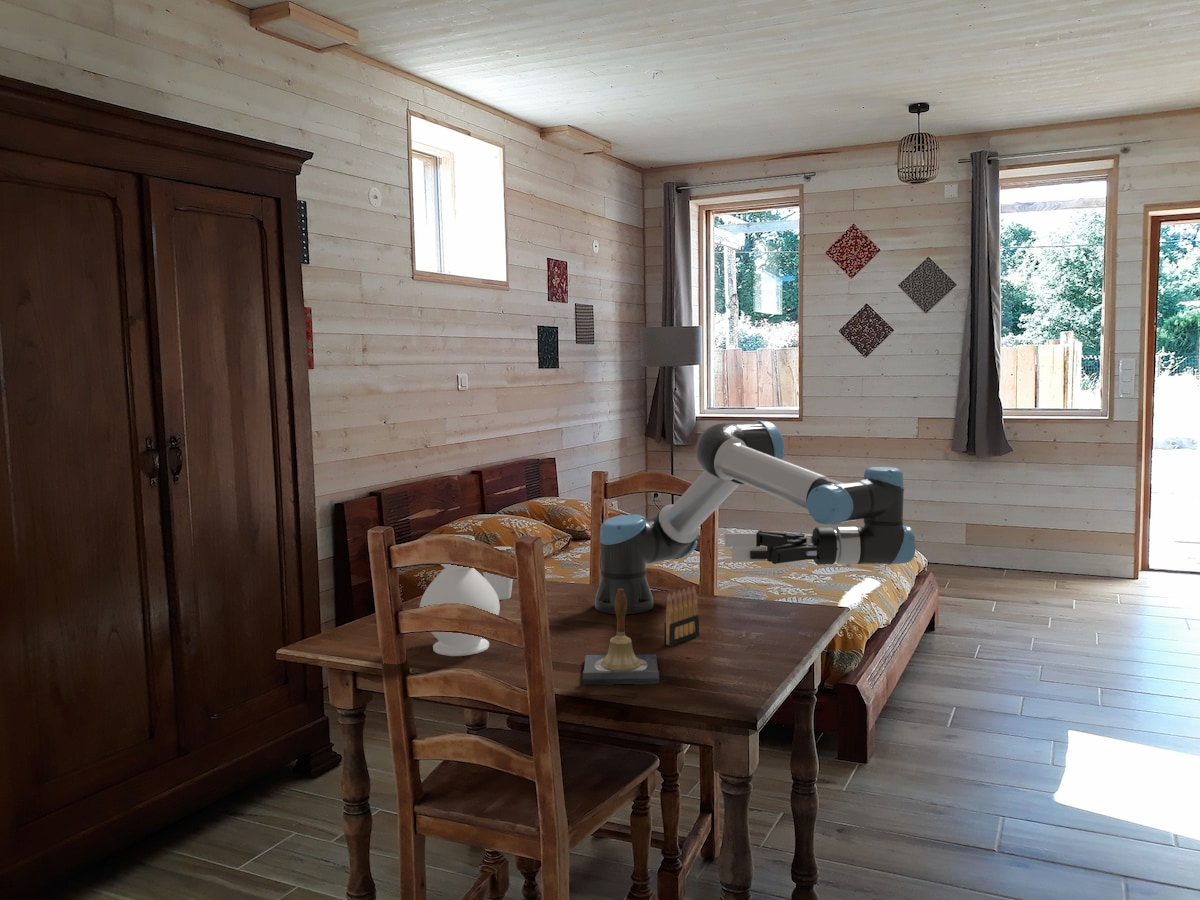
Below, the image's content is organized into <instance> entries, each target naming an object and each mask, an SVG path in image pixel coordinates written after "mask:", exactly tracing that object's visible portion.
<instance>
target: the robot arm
mask: <svg viewBox="0 0 1200 900" xmlns="http://www.w3.org/2000/svg"><path fill="white" fill-rule="evenodd" d="M695 452H696V453H695V454H696V458H697V462H698V463H699V464H700V466H701V468H702V469H703V471H702V473H701V474H700V475H699V476H698V477H696V480H695V481H693V482H692V483H691V485H690V486H689V487H688V488H687V489H686V491H684V493H683V494H682V495H681V496H680V497H679V498H678V500H676V501H675V502H674V503H673V504H672V503H671V504H667V505H664V506H663V507H661V509H660V511H659V512H658V513H657V514H655V516H653V517H650V518H649V517H647V518H646V517H644V516H643V515H641V514H634V513H633V514H630V513H629V514H621V515H616V516H613V517H609V518H607V519H605V520H604V521H603V522H602V523H601V525H600V531H599V532H600V534H599V542H600V580H599V585H598V588H597V591H596V594H595V597H594V598H595V599H594V608H595V610H597V611H598V612H602V613H604V614H613V615H616V613H615V607H614V601H615V597H616V594H617V590H618V589H619V588H622V589H624V593H625V596H626V599H627V611H626V615H635V613H636V614H641V613H645V612H648V611H650V610H652V609H653V608H654V597H653V594H652V591H651V588H650V585H649V582H648V579H647V564H652V563H658V562H663V561H669V560H678V559H682V558H684V557H687V556H689V555H691V554H692V553H693V552H694V551H695V550H696V548H697V546H698V543H699V541H697V539H699V532H700V531H699V527H700V526H701V525H703V523H704V522H705V521H706V520H707V519H708V518H709V517H710V516H711V515H712V514H713V513H714V512H715V510H716V509H718V508H719V506H720V505H722V504H723V502H724V501H725V500H726V499H728V497H729V496H730V495H731V494H732V493H733V492H734V491H736V489H738V487H739V486H744V485H746V486H747V485H748V486H749V487H753V488H754V489H757V490H759V491H761V492H764V493H766V494H769V495H772V496H774V497H776V498H778V499H780V500H783V501H786V502H788V503H791V504H793V505H795V506H798V507H799V508H802V509H805V510H806V511H808V513H809V515H810V516H811V517H812V518H813V520H814V521H815V522H817V523H818V524H822V525H830V524H831V525H839V524H841V523H845V522H846V523H847V522H850V521H851V522H852V521H857V520H863V526H835V528H834V527H831V526H824V527H823V526H819V527H818V526H817V527H815V528H813V531H812V532H811V533H812V536H811V537H809V536H807V537H805V533H802V532H800V533H799V532H798V533H793V532H780V531H779V532H778V531H769V530H767V531H766V530H758V531H757V532H748V533H747V532H732V533H731V532H729V533H727V532H724V547H725V548H726V547H727V548H729V547H731V561H732V562H768V563H771V564H774V565H777V564H783V563H791V562H797V561H798V562H800V561H806V560H807V561H808V560H813V561H814V564H816V565H817V566H818V565H819V566H821V565H824V566H825V565H829V566H830V565H831V566H832V565H834V564H835V563H836V564H837V565H845V566H846V567H847V568H850V567H851V565H888V566H889V565H890V566H891V565H896V564H908V563H911V561H913V559H914V556H915V554H916V549H917V548H916V546H917V545H916V540H915V539H916V537H915V533H914V530H913V529H912V528H911V527H910V526H906V525H904V521H903V520H904V491H905V487H904V473H903V471H902V470H901V469H900V468H897V467H894V466H893V467H892V466H891V467H890V466H871V467H868V468H866V469H865V470H864V472H863V474H864V475H863V478H862V479H858V480H854V481H853V480H851V481H839V480H836V479H834V478H831V477H828V476H826V475H824V474H821V473H818V472H816V471H812V470H811V469H808V468H804V467H801V466H799V465H796V464H794V463H791V462H789V461H786V460H784V456H785V442H784V439H783V436H782V433H781V431H780V429H779V428H778V427H777V426H776V425H775V424H774V423H772V422H770V421H767V420H758V419H755V420H752V421H751V420H750V421H740V422H739V421H738V422H725V423H724V422H723V423H717V424H714V425H711V426H709V427H708V428H706V430H704V431H703V432H702V433H701V434H700V436H699V437H698V440H697V443H696V448H695Z"/></svg>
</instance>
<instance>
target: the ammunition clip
mask: <svg viewBox="0 0 1200 900" xmlns="http://www.w3.org/2000/svg"><path fill="white" fill-rule="evenodd" d="M665 609H666V610H665V622H664V631H663V633H664V635H663V636H664V639H663V640H664V641H663V645H664V646H667V645H668V647H673V646H672V645H674V646H676V645H679V644H681V643H680V642H682V643H684V642H687V641H690V640H692V639H691V638H693V639H694V637H695V638H697V637H696V636H698V637H700V617H699V616H700V615H699V614H698V602H697V591H696V587H695V585H692V587H690V586H688V587H687V589H685V588H684V587H683V589H682V591H681V590H680V589H678V590H677V593H676V591H675V590H674V591H673V592H672V595H671V593H670V592H668V593H667V597H666V608H665ZM689 639H690V640H689ZM686 640H687V641H686ZM683 641H684V642H683ZM678 643H679V644H678ZM675 644H676V645H675Z"/></svg>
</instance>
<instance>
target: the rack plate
mask: <svg viewBox="0 0 1200 900" xmlns="http://www.w3.org/2000/svg"><path fill="white" fill-rule="evenodd" d="M634 654H635V653H634ZM606 655H607V654H586V655H585V657H584V658H585V659H584V668H583V671H582V685H583V686H611V685H612V686H614V685H613V684H635V685H660V671H659V670H660V669H659V668H658V660H657V654H655V653H651V654H650V653H647V654H646V653H644V654H643V653H642V654H638V653H637V654H635V656H636V658H637V659H639V661H640V663H641V666H640V667H638V668H636V669H634V670H629V671H613V670H608V669H605V668H603V667H602V666H601V662H602V660H603V659H604V658H605V657H606ZM658 669H659V670H658Z"/></svg>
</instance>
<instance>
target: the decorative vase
mask: <svg viewBox="0 0 1200 900" xmlns="http://www.w3.org/2000/svg"><path fill="white" fill-rule="evenodd" d="M454 535H455V536H461V537H465V538H469V539H472V540H474V541H475V536H473V535H469V534H454ZM440 565H441V567H443V569H442V571H440V572H439V574H437V576H436V577H434V578H433V580H432V581H431V583H430V584H429V585H428V586H427V588H426V589H425V591H424V593H423V594H422V597H421V598H420V599H421V600H420V603H419V608H420V607H424V606H428V605H433V604H443V603H459V604H466V605H470V606H474V607H476V608H479V609H482V610H485V611H488V612H490V613H493V614H496V615H498V616H499V615H500V609H501V607H500V600H499V599H498V596H497V594H496V592H495V590H494V589H493V587H492V586H491V585H490V583H489V582H488V581H487V580H486V579H485V578H484V575H482V574H481V573H480V572H479V571H477V569H475V568H474V567H473V568H469V567H463V566H457V565H451V564H440ZM430 633H431V634H432V635H433V636H434V637H435V638H436V639H437V641H436V642H435V643H434V644H433V645H432V649H433V652H434V653H436V654H438V655H442V656H449V657H462V656H470V655H471V656H472V655H474V654H479V653H481V652H485V651H486V650H488V649H489V647H490V641H489V640H487V639H485V638H484V637H483V638H482V637H478V636H474V635H468V634H462V633H452V632H430Z"/></svg>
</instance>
